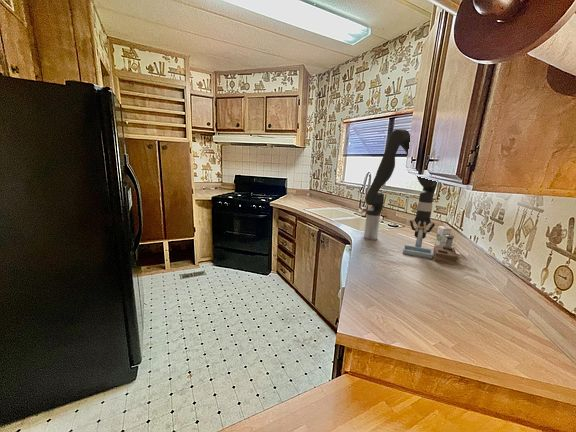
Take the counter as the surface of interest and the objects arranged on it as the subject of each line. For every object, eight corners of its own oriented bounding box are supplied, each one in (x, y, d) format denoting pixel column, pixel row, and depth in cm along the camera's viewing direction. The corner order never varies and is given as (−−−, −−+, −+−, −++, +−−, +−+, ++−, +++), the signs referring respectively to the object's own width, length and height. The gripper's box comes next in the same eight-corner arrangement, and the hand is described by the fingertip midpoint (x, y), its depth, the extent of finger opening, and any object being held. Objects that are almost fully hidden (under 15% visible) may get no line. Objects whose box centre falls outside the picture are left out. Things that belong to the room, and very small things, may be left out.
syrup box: (448, 250, 156) (452, 228, 153) (439, 249, 157) (443, 228, 153) (443, 247, 162) (447, 226, 159) (434, 246, 162) (438, 225, 159)
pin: (441, 254, 148) (445, 234, 146) (450, 256, 146) (454, 235, 144) (442, 257, 145) (446, 235, 142) (450, 258, 143) (454, 237, 140)
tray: (403, 248, 157) (404, 244, 156) (431, 253, 150) (431, 249, 150) (402, 253, 148) (403, 249, 147) (431, 259, 141) (432, 255, 141)
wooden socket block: (433, 252, 152) (434, 244, 151) (452, 255, 148) (453, 247, 146) (434, 261, 138) (436, 253, 137) (455, 265, 134) (457, 256, 133)
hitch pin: (414, 244, 151) (417, 224, 148) (422, 246, 149) (425, 225, 146) (414, 246, 147) (417, 226, 144) (422, 248, 145) (425, 227, 142)
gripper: (437, 210, 143) (432, 238, 147) (411, 207, 149) (406, 234, 153) (438, 212, 136) (433, 241, 140) (410, 209, 143) (406, 237, 146)
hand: (419, 237), depth 147 cm, fingers closed on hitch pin, 3 cm apart
